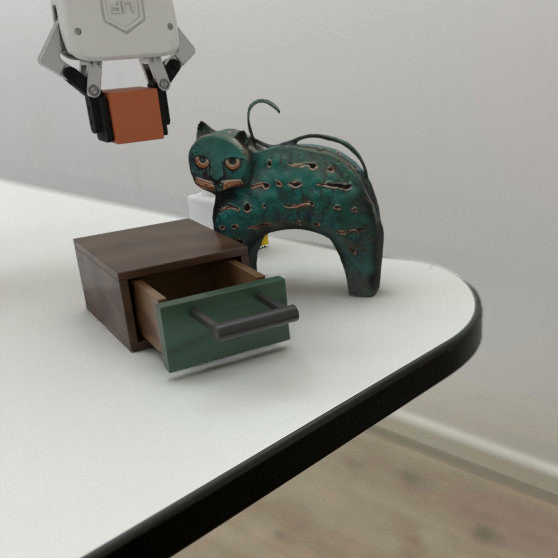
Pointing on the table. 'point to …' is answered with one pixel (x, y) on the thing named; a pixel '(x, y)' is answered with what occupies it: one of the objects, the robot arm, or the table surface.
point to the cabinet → (143, 266)
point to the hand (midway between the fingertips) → (132, 135)
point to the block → (134, 114)
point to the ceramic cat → (291, 195)
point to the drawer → (210, 312)
